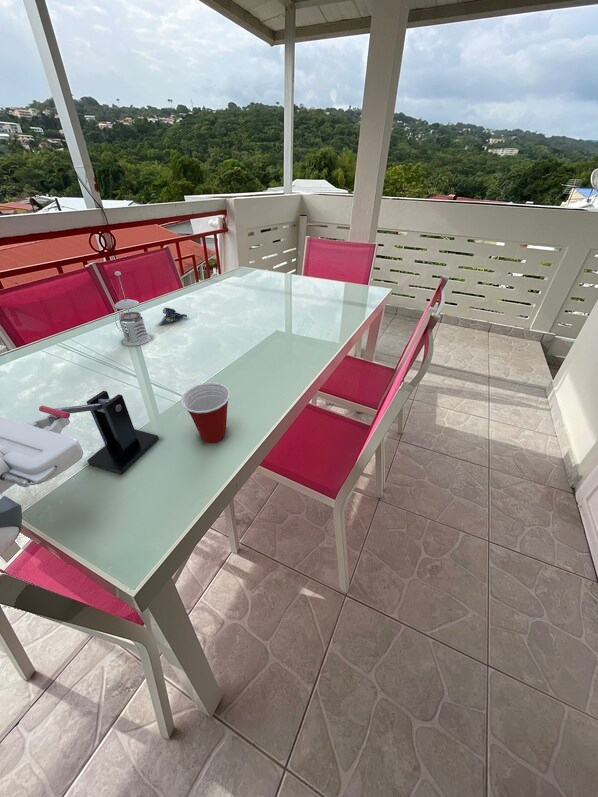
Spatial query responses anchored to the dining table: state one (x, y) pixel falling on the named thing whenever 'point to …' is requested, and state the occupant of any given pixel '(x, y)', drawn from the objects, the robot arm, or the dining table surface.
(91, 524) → the dining table surface
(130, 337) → the french press
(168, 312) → the snack package
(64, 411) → the lever
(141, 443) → the bracket
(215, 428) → the plastic cup
